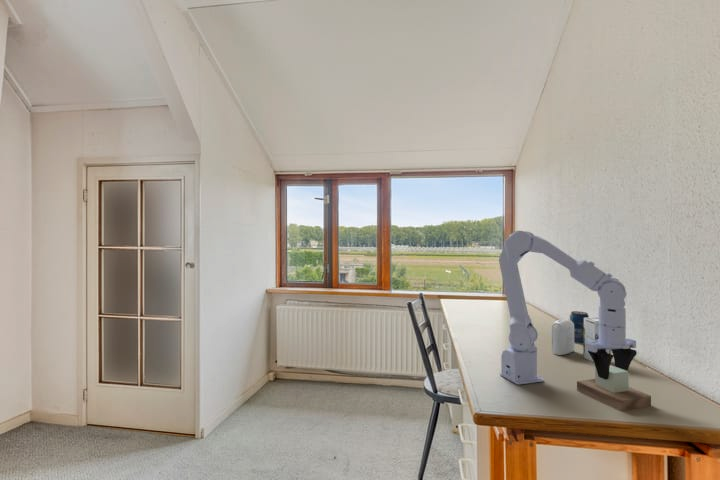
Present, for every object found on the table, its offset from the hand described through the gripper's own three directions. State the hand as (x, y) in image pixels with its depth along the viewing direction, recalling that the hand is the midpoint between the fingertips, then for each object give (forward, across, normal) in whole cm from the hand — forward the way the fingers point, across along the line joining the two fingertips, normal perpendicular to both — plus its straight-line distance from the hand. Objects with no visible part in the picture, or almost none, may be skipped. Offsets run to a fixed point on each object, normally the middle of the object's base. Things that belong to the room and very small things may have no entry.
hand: (612, 376), depth 90 cm
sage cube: (+3, 0, 0) cm, 3 cm away
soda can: (+6, +37, +42) cm, 56 cm away
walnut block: (+6, 0, 0) cm, 6 cm away
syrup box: (+6, +23, +23) cm, 33 cm away
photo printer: (+6, +19, +33) cm, 39 cm away
